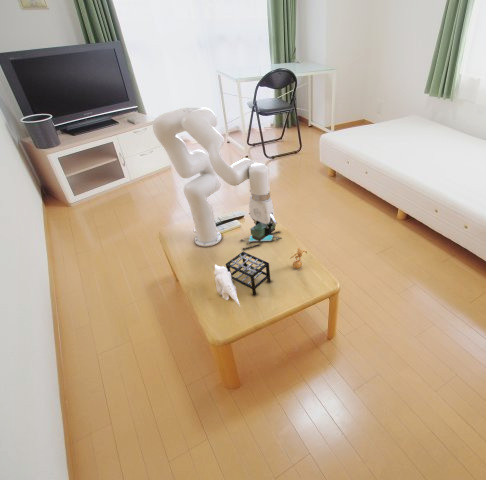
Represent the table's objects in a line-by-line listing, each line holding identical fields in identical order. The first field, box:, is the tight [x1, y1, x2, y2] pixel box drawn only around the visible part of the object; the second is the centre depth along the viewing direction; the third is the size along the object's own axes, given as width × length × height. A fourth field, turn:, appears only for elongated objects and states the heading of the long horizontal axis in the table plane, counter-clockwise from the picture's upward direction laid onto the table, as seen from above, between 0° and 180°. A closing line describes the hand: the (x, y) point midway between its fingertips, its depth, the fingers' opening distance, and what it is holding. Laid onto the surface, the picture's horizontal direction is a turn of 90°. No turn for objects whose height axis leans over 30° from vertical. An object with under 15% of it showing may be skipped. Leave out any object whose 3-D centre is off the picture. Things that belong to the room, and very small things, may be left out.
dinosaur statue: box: [213, 264, 241, 307], centre depth 130 cm, size 7×24×11 cm, turn 35°
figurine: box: [289, 247, 308, 270], centre depth 144 cm, size 8×6×12 cm
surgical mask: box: [240, 231, 283, 250], centre depth 164 cm, size 21×4×10 cm
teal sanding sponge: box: [250, 221, 277, 242], centre depth 144 cm, size 11×4×5 cm, turn 147°
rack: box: [225, 251, 272, 297], centre depth 137 cm, size 14×10×10 cm
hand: (263, 232), depth 145 cm, fingers closed on teal sanding sponge, 4 cm apart
